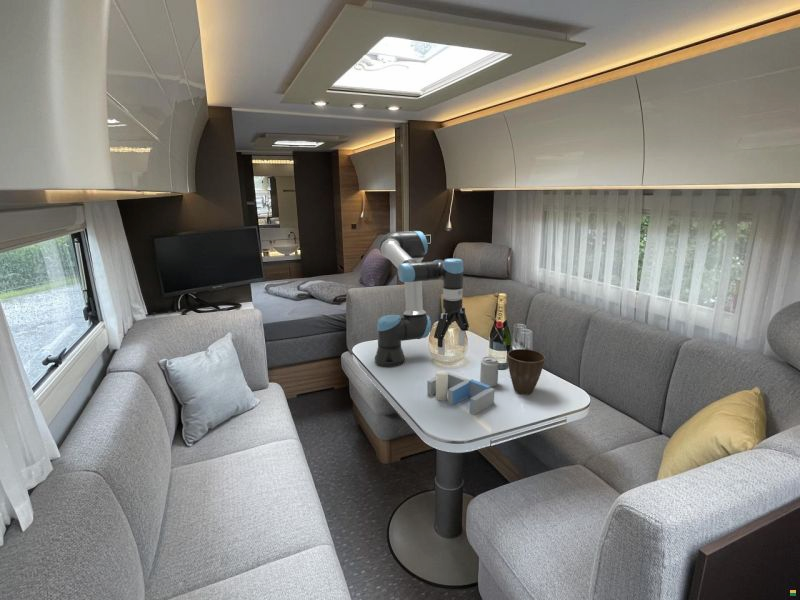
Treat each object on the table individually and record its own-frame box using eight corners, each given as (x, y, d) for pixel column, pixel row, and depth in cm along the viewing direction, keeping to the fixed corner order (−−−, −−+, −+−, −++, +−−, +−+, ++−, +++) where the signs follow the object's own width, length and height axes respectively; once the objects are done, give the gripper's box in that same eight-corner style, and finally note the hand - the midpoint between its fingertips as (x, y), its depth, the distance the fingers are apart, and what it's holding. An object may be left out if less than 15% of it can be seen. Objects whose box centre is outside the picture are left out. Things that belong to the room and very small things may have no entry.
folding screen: (427, 394, 166) (427, 379, 164) (447, 384, 175) (447, 370, 173) (474, 414, 149) (475, 398, 148) (494, 402, 158) (494, 387, 157)
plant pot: (514, 379, 178) (516, 346, 175) (547, 389, 169) (550, 353, 165) (499, 391, 167) (501, 356, 164) (534, 402, 158) (536, 365, 154)
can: (477, 385, 173) (478, 360, 170) (482, 379, 180) (483, 354, 177) (494, 389, 170) (496, 363, 167) (499, 382, 176) (500, 357, 173)
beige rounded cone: (433, 398, 163) (433, 373, 160) (440, 394, 166) (441, 369, 163) (442, 402, 159) (442, 376, 157) (449, 398, 163) (450, 373, 160)
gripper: (440, 306, 144) (440, 360, 149) (478, 294, 161) (476, 343, 166) (424, 302, 149) (424, 355, 154) (463, 292, 166) (461, 339, 171)
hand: (451, 349), depth 160 cm, fingers open, 13 cm apart
